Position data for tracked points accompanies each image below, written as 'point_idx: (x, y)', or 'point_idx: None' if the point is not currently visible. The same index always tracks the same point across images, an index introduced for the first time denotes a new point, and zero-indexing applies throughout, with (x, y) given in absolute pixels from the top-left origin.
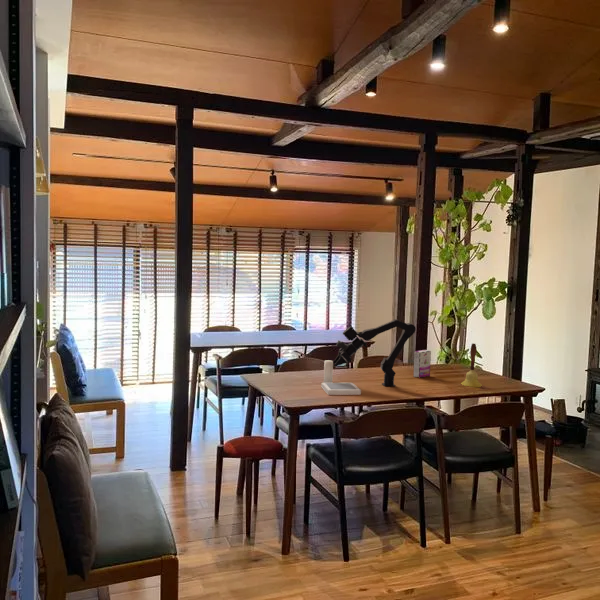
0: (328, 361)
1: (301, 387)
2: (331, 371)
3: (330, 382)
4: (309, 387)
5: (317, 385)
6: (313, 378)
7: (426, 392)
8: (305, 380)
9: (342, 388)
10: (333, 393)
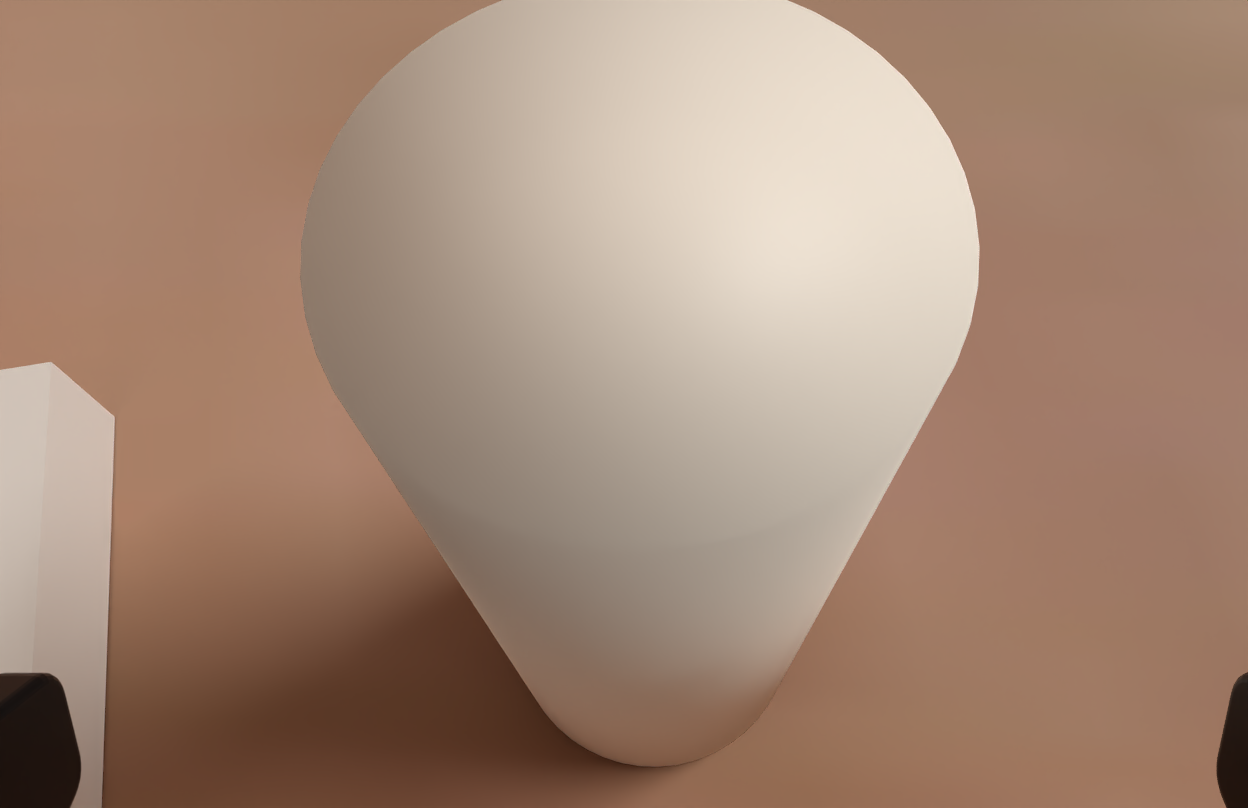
0: (439, 203)
1: (95, 4)
2: (493, 630)
3: (532, 694)
4: (86, 153)
5: None
6: (1189, 238)
7: None
8: None
9: None
10: None
